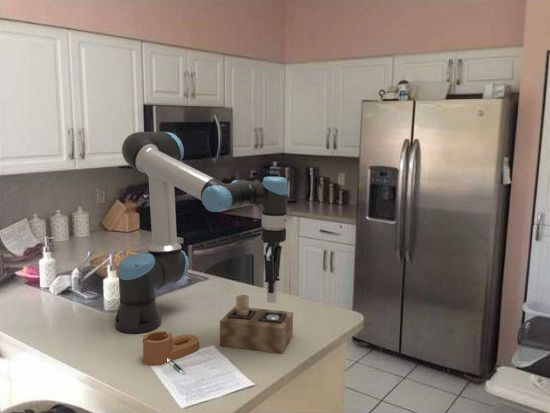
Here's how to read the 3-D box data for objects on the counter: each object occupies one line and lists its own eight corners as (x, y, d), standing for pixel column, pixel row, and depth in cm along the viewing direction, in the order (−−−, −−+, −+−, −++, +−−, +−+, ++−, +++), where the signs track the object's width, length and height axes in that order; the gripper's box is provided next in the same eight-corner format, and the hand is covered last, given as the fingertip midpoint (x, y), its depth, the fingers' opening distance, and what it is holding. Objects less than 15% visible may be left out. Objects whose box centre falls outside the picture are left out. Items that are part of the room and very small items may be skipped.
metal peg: (264, 342, 156) (264, 318, 155) (267, 337, 160) (268, 313, 159) (276, 344, 155) (277, 319, 154) (280, 339, 159) (280, 315, 158)
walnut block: (219, 345, 155) (219, 319, 153) (234, 328, 168) (234, 304, 167) (282, 353, 150) (282, 326, 148) (292, 335, 163) (293, 310, 162)
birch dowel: (234, 322, 158) (234, 298, 157) (238, 318, 162) (238, 294, 160) (246, 323, 157) (246, 299, 156) (250, 319, 161) (250, 295, 159)
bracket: (153, 368, 140) (153, 345, 139) (138, 358, 146) (137, 336, 145) (204, 349, 153) (204, 327, 152) (188, 340, 158) (188, 320, 157)
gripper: (280, 233, 145) (278, 310, 149) (290, 224, 157) (287, 296, 161) (256, 230, 147) (254, 307, 151) (267, 222, 159) (265, 293, 163)
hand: (271, 301), depth 156 cm, fingers closed
